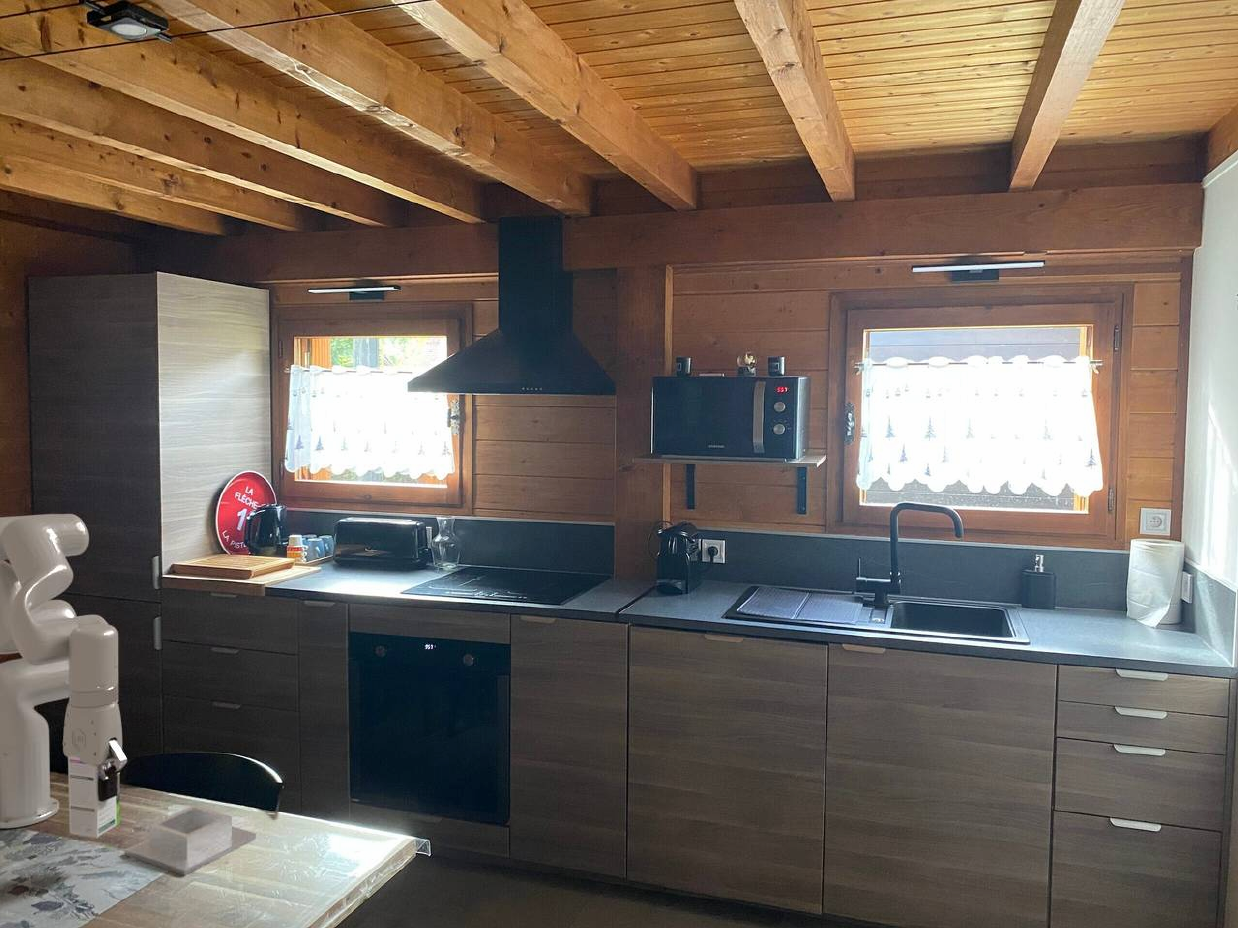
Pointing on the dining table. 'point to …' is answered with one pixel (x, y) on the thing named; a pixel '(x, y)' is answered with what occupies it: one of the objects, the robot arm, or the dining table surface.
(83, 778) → the syrup box
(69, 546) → the robot arm
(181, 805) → the dining table surface
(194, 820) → the sleeve holder
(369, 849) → the dining table surface
